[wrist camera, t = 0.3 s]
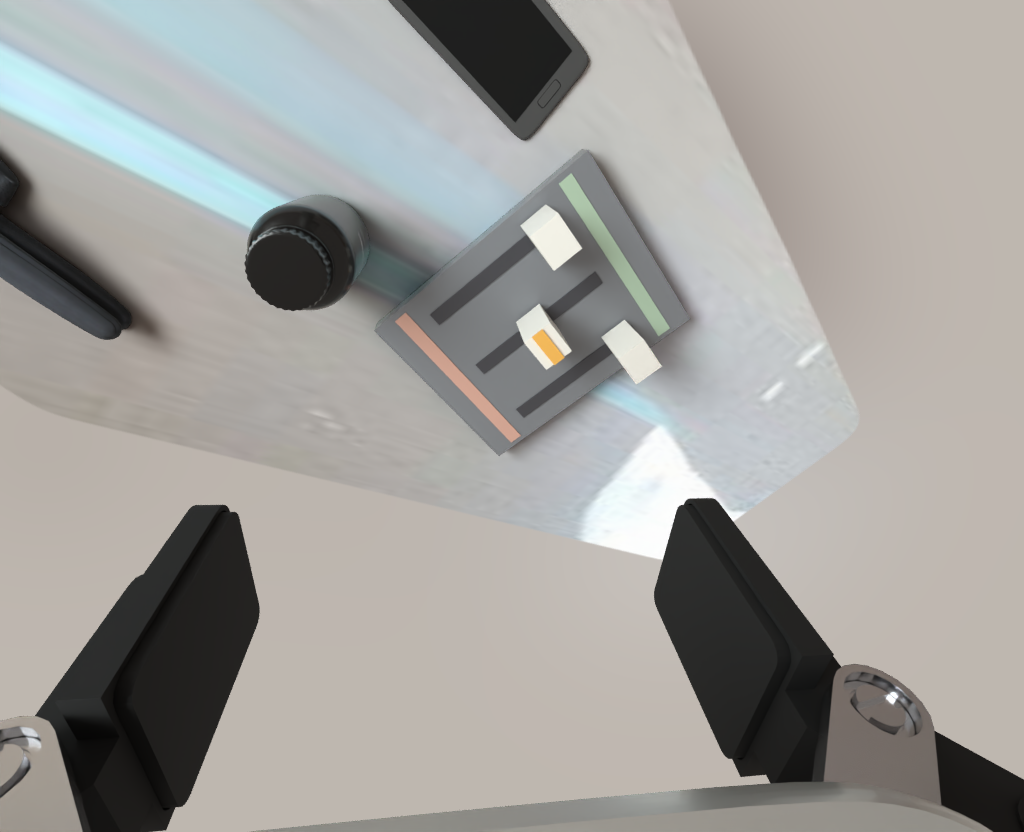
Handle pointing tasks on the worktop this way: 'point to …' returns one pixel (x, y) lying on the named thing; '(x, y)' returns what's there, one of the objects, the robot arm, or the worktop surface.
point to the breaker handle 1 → (551, 236)
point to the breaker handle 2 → (631, 351)
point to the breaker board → (517, 290)
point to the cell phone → (503, 53)
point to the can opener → (54, 277)
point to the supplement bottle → (306, 253)
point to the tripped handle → (543, 337)
